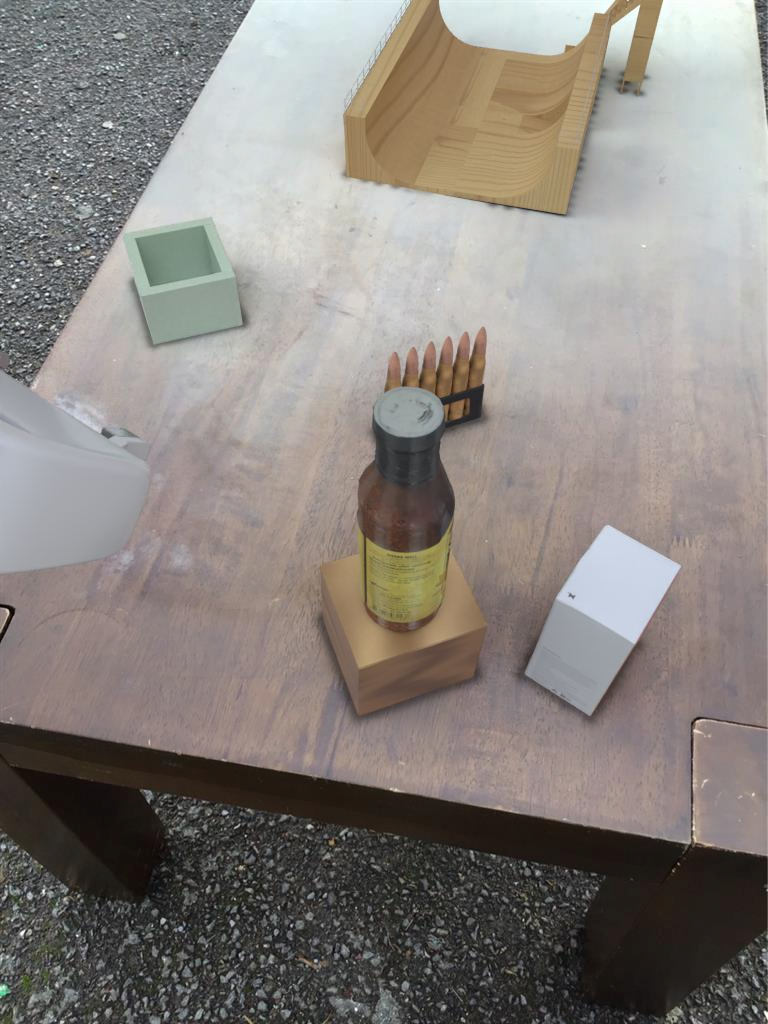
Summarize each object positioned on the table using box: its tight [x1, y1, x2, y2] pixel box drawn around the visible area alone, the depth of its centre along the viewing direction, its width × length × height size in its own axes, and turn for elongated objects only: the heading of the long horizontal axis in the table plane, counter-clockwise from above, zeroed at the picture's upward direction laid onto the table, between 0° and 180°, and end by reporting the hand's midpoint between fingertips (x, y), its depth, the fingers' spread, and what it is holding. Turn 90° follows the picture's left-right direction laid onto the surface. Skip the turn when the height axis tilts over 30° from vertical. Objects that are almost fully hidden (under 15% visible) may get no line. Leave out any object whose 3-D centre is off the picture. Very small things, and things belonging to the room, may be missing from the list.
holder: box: [121, 216, 244, 346], centre depth 90 cm, size 10×11×7 cm
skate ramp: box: [342, 0, 664, 215], centre depth 111 cm, size 40×35×16 cm
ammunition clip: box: [383, 326, 488, 430], centre depth 78 cm, size 11×2×12 cm, turn 114°
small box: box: [523, 524, 682, 717], centre depth 63 cm, size 8×6×13 cm
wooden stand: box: [319, 548, 489, 717], centre depth 64 cm, size 10×9×9 cm
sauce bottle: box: [356, 387, 456, 632], centre depth 52 cm, size 6×6×20 cm
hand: (63, 407), depth 38 cm, fingers open, 8 cm apart
